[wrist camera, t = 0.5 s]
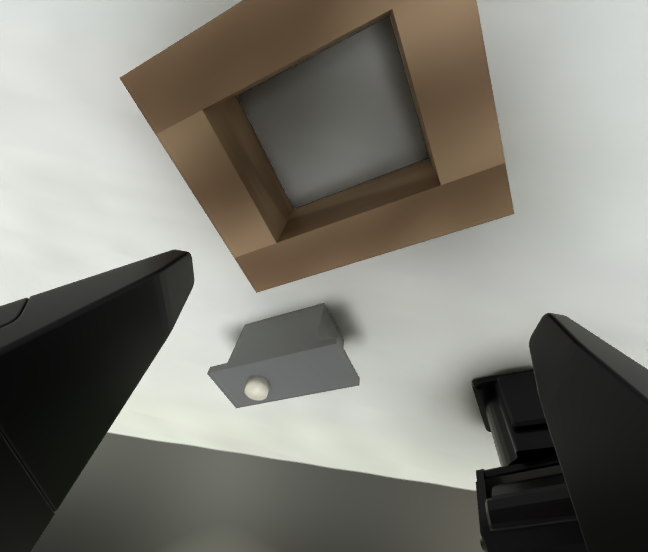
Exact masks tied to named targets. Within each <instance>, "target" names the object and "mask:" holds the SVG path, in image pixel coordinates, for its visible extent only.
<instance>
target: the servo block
mask: <svg viewBox="0 0 648 552" xmlns="http://www.w3.org/2000/svg"><path fill="white" fill-rule="evenodd" d="M343 347H344V340H343V338H342V336H341V334H340V332H339V330H338V329H337V327H336V325H335V323H334V321H333V319H332V317H331V315H330V314H329V312H328V310H327V308H326V306H325V304H324V303H323V304H319V305H315V306H312V307H308V308H304V309H301V310H297V311H293V312H290V313H286V314H282V315H279V316H275V317H271V318H268V319H264V320H261V321H257V322H253V323H250V324H246V325H245V326H244V329H243V331H242V333H241V335H240V337H239V339H238V341H237V344H236V346H235V348H234V350H233V352H232V354H231V356H230V359H229V361H228V363H225V364H221V365H217V366H213V367H210V369H209V371H208V373H207V374H208V375H209V376H210V377H211V379H212V380H213V381H214V382H215V383H216V385H217V386H218V387H219V388H220V389H221V391H222V392H223V393H224V394H225V395H226V397H227V398H228V399H229V400H230V401H231V403H232V404H233V405H234V406H235V407H236V408H240V407H245V406H251V405H256V404H261V403H267V402H272V401H277V400H283V399H288V398H294V397H299V396H304V395H310V394H315V393H320V392H326V391H331V390H336V389H342V388H347V387H352V386H358V385H359V381H360V378H359V376H358V374H357V372H356V371H355V369H354V367H353V365H352V363H351V361H350V360H349V358H348V356H347V354H346V352H345V350H344V348H343Z"/></svg>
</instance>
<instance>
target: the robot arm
mask: <svg viewBox="0 0 648 552" xmlns="http://www.w3.org/2000/svg"><path fill="white" fill-rule="evenodd" d="M193 285H194V272H193V263H192V257H191V254H190V253H189V252H186V251H180V250H171V251H168V252H165V253H162V254H159V255H156V256H153V257H150V258H146V259H143V260H140V261H137V262H134V263H131V264H128V265H125V266H122V267H119V268H116V269H113V270H110V271H107V272H104V273H101V274H98V275H95V276H92V277H88V278H85V279H82V280H79V281H76V282H73V283H70V284H67V285H64V286H61V287H58V288H55V289H52V290H49V291H46V292H43V293H40V294H37V295H33V296H31V297H30V298H29V299H28V298H24V299H21V300H18V301H15V302H12V303H9V304H6V305H3V306H0V552H31V551H32V549H33V547H34V546H35V544H36V543H37V541H38V540H39V538H40V536H41V535H42V533H43V532H44V530H45V529H46V527H47V526H48V524H49V522H50V521H51V519H52V518H53V516H54V515H55V511H57V509H58V508H59V506H60V505H61V503H62V502H63V500H64V499H65V497H66V495H67V494H68V492H69V491H70V489H71V487H72V486H73V484H74V483H75V481H76V480H77V478H78V477H79V475H80V474H81V472H82V470H83V469H84V467H85V466H86V464H87V463H88V461H89V459H90V458H91V456H92V455H93V453H94V451H95V450H96V449H97V447H98V445H99V444H100V442H101V441H102V439H103V438H104V436H105V435H106V433H107V431H108V430H109V428H110V427H111V425H112V424H113V422H114V421H115V419H116V417H117V416H118V414H119V413H120V411H121V410H122V408H123V406H124V405H125V403H126V402H127V400H128V399H129V397H130V396H131V394H132V392H133V391H134V389H135V388H136V386H137V385H138V383H139V382H140V380H141V378H142V377H143V375H144V374H145V372H146V371H147V369H148V367H149V366H150V364H151V363H152V361H153V360H154V358H155V357H156V355H157V353H158V352H159V350H160V349H161V347H162V346H163V344H164V343H165V341H166V339H167V338H168V336H169V334H170V333H171V331H172V329H173V327H174V325H175V323H176V321H177V319H178V317H179V315H180V313H181V310H182V308H183V306H184V304H185V302H186V300H187V298H188V296H189V294H190V292H191V290H192V288H193ZM529 348H530V353H531V359H532V364H533V369H534V370H529V371H523V372H517V373H512V374H506V375H500V376H494V377H488V378H482V379H477V380H474V381H473V382H472V387H473V390H474V393H475V397H476V400H477V403H478V406H479V409H480V412H481V415H482V418H483V421H484V424H485V427H486V430H487V431H489V432H492V436H493V439H494V443H495V446H496V450H497V453H498V457H499V460H500V464H501V467H498V468H493V469H488V470H484V469H481V470H476V476H477V482H476V490H477V500H478V510H479V523H480V533H481V537H480V543H481V547H482V549H483V551H484V552H648V369H646V368H645V367H643V366H642V365H640V364H638V363H637V362H635V361H634V360H632V359H631V358H629V357H628V356H626V355H625V354H623V353H622V352H620V351H619V350H617V349H616V348H614V347H613V346H611V345H609V344H608V343H606V342H605V341H603V340H602V339H600V338H599V337H597V336H596V335H594V334H593V333H591V332H590V331H588V330H587V329H585V328H583V327H582V326H580V325H579V324H577V323H576V322H574V321H573V320H571V319H570V318H568V317H567V316H564V315H559V314H553V313H547V314H545V315H544V316H543V317H542V318H541V320H540V322H539V323H538V325H537V327H536V329H535V330H534V332H533V334H532V335H531V338H530V341H529Z"/></svg>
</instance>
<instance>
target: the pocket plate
mask: <svg viewBox="0 0 648 552" xmlns="http://www.w3.org/2000/svg"><path fill="white" fill-rule="evenodd" d="M388 16H390V20H391V23H392V27H393V30H394V34H395V38H396V41H397V45H398V48H399V52H400V55H401V59H402V62H403V66H404V70H405V73H406V77H407V80H408V84H409V87H410V91H411V94H412V98H413V102H414V105H415V109H416V112H417V116H418V119H419V123H420V127H421V130H422V134H423V137H424V141H425V144H426V148H427V151H428V155H429V158H428V159H425V160H423V161H420V162H417V163H415V164H412V165H410V166H407V167H404V168H402V169H399V170H396V171H394V172H391V173H388V174H386V175H383V176H381V177H378V178H375V179H373V180H370V181H367V182H365V183H362V184H359V185H357V186H354V187H352V188H349V189H346V190H344V191H341V192H338V193H336V194H333V195H330V196H328V197H325V198H323V199H320V200H317V201H315V202H312V203H309V204H307V205H304V206H301V207H299V208H296V209H294V210H293V208H292V206H291V204H290V202H289V200H288V198H287V196H286V194H285V192H284V190H283V188H282V186H281V184H280V182H279V180H278V178H277V176H276V174H275V172H274V170H273V168H272V166H271V164H270V162H269V160H268V158H267V156H266V154H265V152H264V150H263V148H262V146H261V144H260V142H259V140H258V138H257V136H256V134H255V132H254V130H253V128H252V127H251V125H250V123H249V121H248V119H247V117H246V115H245V113H244V111H243V109H242V107H241V105H240V103H239V101H238V99H237V97H236V96H238V95H240V94H242V93H244V92H246V91H248V90H250V89H251V88H253V87H255V86H257V85H259V84H261V83H263V82H265V81H267V80H269V79H270V78H272V77H274V76H276V75H278V74H280V73H282V72H284V71H286V70H288V69H289V68H291V67H293V66H295V65H297V64H299V63H301V62H303V61H305V60H307V59H308V58H310V57H312V56H314V55H316V54H318V53H320V52H322V51H324V50H325V49H327V48H329V47H331V46H333V45H335V44H337V43H339V42H341V41H343V40H344V39H346V38H348V37H350V36H352V35H354V34H356V33H358V32H360V31H362V30H363V29H365V28H367V27H369V26H371V25H373V24H375V23H377V22H379V21H380V20H382V19H384V18H386V17H388ZM120 79H121V81H122V83H123V84H124V86H125V87H126V89H127V90H128V92H129V93H130V95H131V97H132V98H133V100H134V101H135V103H136V104H137V106H138V108H139V109H140V111H141V112H142V114H143V115H144V117H145V119H146V120H147V122H148V123H149V125H150V126H151V128H152V130H153V131H154V133H155V134H156V136H157V137H158V139H159V141H160V142H161V144H162V145H163V147H164V148H165V150H166V151H167V153H168V155H169V156H170V158H171V159H172V161H173V162H174V164H175V166H176V167H177V169H178V170H179V172H180V173H181V175H182V177H183V178H184V180H185V181H186V183H187V184H188V186H189V188H190V189H191V191H192V192H193V194H194V195H195V197H196V199H197V200H198V202H199V203H200V205H201V206H202V208H203V210H204V211H205V213H206V214H207V216H208V217H209V219H210V220H211V222H212V224H213V225H214V227H215V228H216V230H217V231H218V233H219V235H220V236H221V238H222V239H223V241H224V242H225V244H226V246H227V247H228V249H229V250H230V252H231V253H232V255H233V257H234V258H235V260H236V261H237V263H238V264H239V266H240V268H241V269H242V271H243V272H244V274H245V275H246V277H247V279H248V280H249V282H250V283H251V285H252V286H253V288H254V289H255V291H256V293H257V292H260V291H263V290H266V289H270V288H273V287H276V286H280V285H283V284H286V283H289V282H293V281H296V280H299V279H302V278H306V277H309V276H312V275H316V274H319V273H322V272H325V271H329V270H332V269H335V268H338V267H342V266H345V265H348V264H352V263H355V262H358V261H361V260H365V259H368V258H371V257H375V256H378V255H381V254H384V253H388V252H391V251H394V250H397V249H401V248H404V247H407V246H411V245H414V244H417V243H420V242H424V241H427V240H430V239H433V238H437V237H440V236H443V235H447V234H450V233H453V232H456V231H460V230H463V229H466V228H469V227H473V226H476V225H479V224H483V223H486V222H489V221H492V220H496V219H499V218H502V217H505V216H509V215H512V214H514V210H513V204H512V199H511V193H510V188H509V182H508V176H507V171H506V165H505V159H504V154H503V148H502V143H501V137H500V131H499V126H498V120H497V114H496V109H495V103H494V97H493V92H492V86H491V81H490V75H489V69H488V64H487V58H486V52H485V47H484V41H483V36H482V30H481V24H480V19H479V13H478V7H477V2H476V0H243V1H241V2H240V3H238V4H237V5H235V6H234V7H232V8H230V9H229V10H227V11H226V12H224V13H222V14H221V15H219V16H218V17H216V18H214V19H213V20H211V21H210V22H208V23H206V24H205V25H203V26H202V27H200V28H198V29H197V30H195V31H194V32H192V33H190V34H189V35H187V36H186V37H184V38H183V39H181V40H179V41H178V42H176V43H175V44H173V45H171V46H170V47H168V48H167V49H165V50H163V51H162V52H160V53H159V54H157V55H155V56H154V57H152V58H151V59H149V60H147V61H146V62H144V63H143V64H141V65H140V66H138V67H136V68H135V69H133V70H132V71H130V72H128V73H127V74H125V75H124V76H122V77H120Z"/></svg>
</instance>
